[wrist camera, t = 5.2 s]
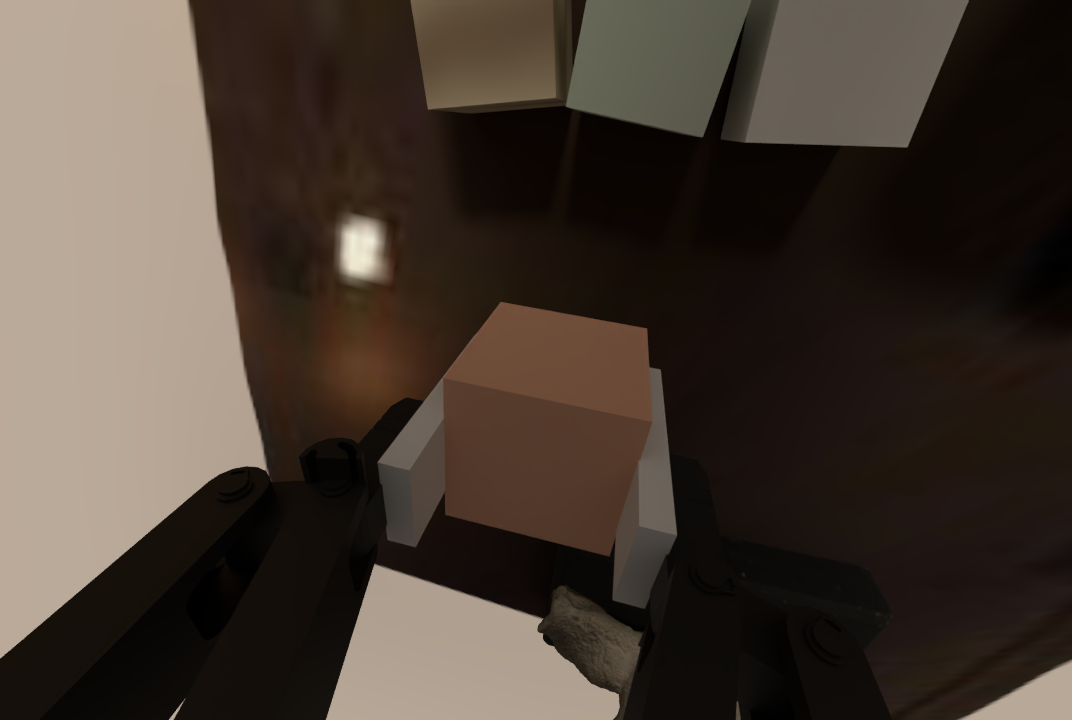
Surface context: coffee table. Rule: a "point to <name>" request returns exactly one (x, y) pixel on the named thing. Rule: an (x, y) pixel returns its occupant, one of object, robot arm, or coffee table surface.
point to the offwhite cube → (837, 70)
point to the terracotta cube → (547, 425)
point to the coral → (616, 628)
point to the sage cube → (655, 60)
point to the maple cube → (494, 53)
